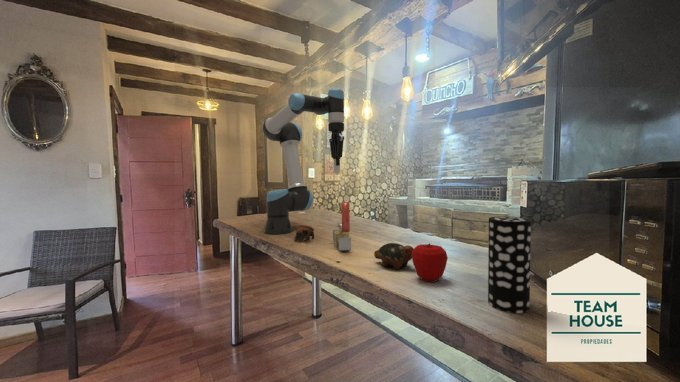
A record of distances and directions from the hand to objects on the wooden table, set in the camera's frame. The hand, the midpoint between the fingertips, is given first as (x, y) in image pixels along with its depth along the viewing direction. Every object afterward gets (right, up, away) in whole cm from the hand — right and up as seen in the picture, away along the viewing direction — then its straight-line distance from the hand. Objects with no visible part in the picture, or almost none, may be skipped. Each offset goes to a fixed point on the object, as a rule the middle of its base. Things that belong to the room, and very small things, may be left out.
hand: (336, 172), depth 140 cm
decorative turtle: (+20, -34, -42) cm, 58 cm away
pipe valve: (+2, -33, -15) cm, 36 cm away
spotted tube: (+40, -35, -72) cm, 90 cm away
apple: (+27, -35, -55) cm, 71 cm away
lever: (+3, -24, -22) cm, 33 cm away
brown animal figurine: (-15, -33, -1) cm, 36 cm away
